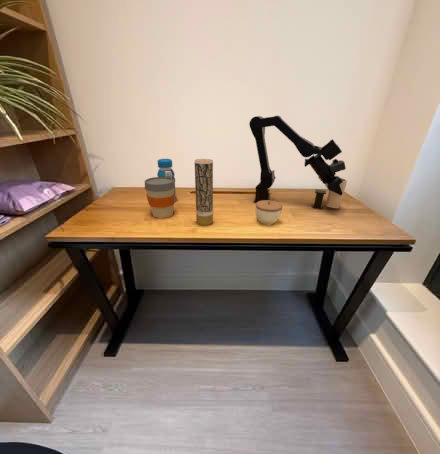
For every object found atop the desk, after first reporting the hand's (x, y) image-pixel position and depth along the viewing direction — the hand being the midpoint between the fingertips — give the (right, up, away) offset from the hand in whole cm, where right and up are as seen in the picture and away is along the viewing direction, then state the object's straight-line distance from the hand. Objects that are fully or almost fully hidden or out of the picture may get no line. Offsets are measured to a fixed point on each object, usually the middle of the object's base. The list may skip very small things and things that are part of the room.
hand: (339, 192), depth 117 cm
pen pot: (-2, -6, +3) cm, 7 cm away
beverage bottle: (-82, -2, +11) cm, 83 cm away
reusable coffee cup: (-81, -11, -4) cm, 82 cm away
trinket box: (-36, -15, -10) cm, 40 cm away
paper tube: (-62, -15, -11) cm, 65 cm away
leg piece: (-8, -6, +6) cm, 12 cm away
